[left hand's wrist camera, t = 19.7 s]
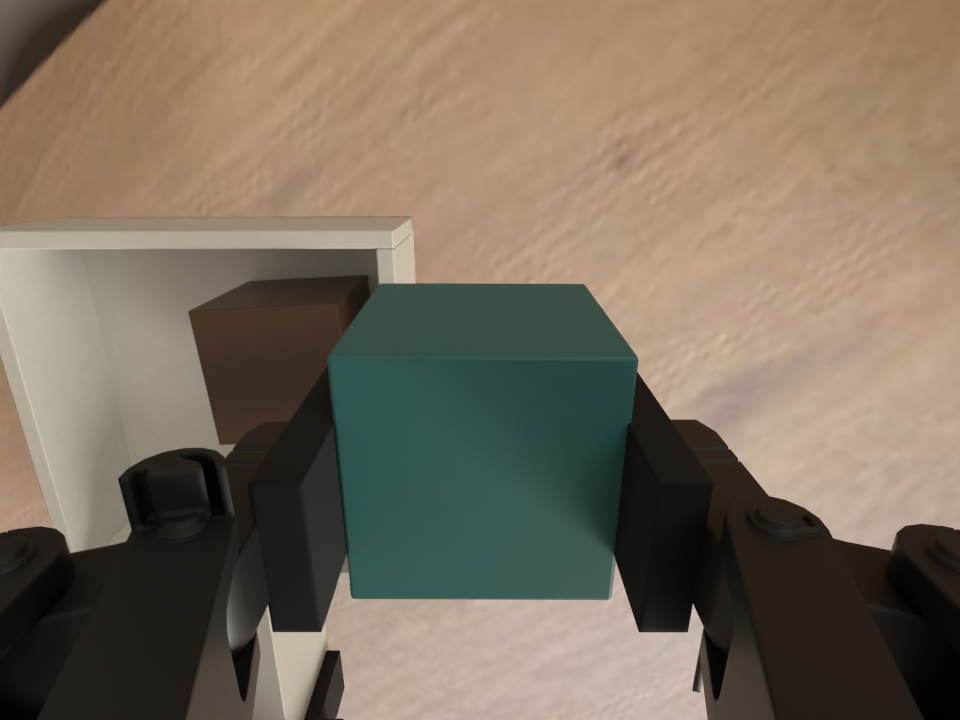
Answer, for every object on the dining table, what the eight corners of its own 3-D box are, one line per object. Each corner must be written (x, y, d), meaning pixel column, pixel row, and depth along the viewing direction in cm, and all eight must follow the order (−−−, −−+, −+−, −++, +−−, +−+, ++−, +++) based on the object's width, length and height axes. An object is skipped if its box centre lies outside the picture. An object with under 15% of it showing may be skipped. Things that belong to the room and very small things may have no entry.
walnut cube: (248, 281, 23) (187, 311, 19) (367, 274, 23) (336, 303, 18) (270, 392, 25) (219, 445, 20) (381, 386, 25) (356, 439, 20)
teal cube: (378, 282, 14) (324, 355, 9) (585, 283, 14) (640, 356, 9) (389, 461, 15) (349, 600, 11) (572, 462, 15) (612, 602, 11)
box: (69, 217, 23) (-67, 234, 17) (412, 216, 23) (387, 233, 17) (189, 716, 32) (125, 833, 27) (434, 719, 32) (422, 838, 27)
